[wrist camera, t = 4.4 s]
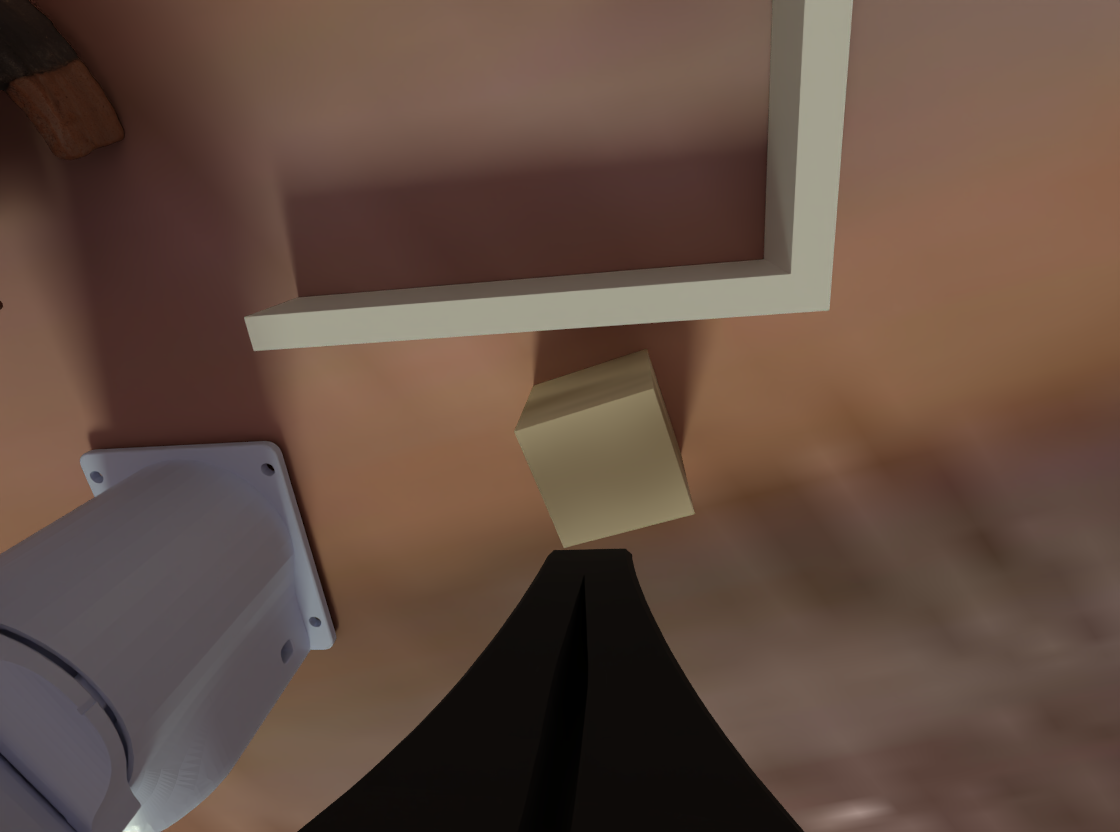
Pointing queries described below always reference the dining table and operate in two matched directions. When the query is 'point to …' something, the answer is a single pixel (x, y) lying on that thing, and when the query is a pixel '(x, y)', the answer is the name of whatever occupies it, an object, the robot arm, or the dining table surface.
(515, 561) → the dining table surface
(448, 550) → the dining table surface
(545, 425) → the birch block
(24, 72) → the pottery mug
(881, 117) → the dining table surface
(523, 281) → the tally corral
